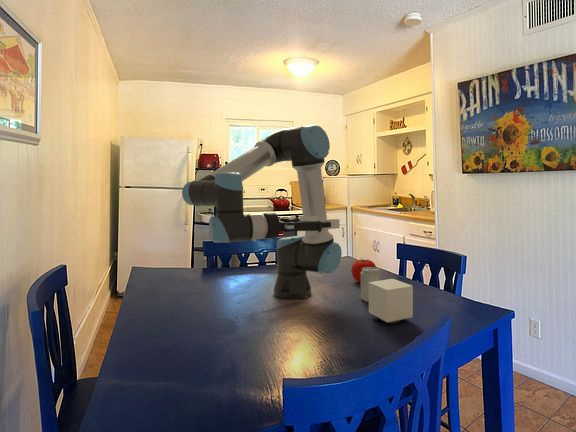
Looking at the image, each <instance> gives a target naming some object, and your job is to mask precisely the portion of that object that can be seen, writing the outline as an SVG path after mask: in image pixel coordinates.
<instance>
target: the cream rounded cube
mask: <svg viewBox="0 0 576 432" xmlns="http://www.w3.org/2000/svg"><path fill="white" fill-rule="evenodd" d="M413 288H414V287H413V285H412V284H409V283H406V282H403V281H400V280H397V279H394V278H389V279H388V278H387V279H383V280H382V279H381V281H375V282H369V302H368V313H369V314H371V315H373V316H375V317H377V318H378V319H380V320H381V319H382V320H384V321H386V322H385V323H387V322H392V321H397V320H400V321H401V320H406V319H411V318H413V315H414V314H413V313H414V311H413V310H414V309H413V308H414V303H413V302H414V301H413V299H414V298H413V297H414V296H413V295H414V294H413V293H414V289H413ZM382 320H381V321H382Z"/></svg>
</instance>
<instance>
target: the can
mask: <svg viewBox="0 0 576 432" xmlns="http://www.w3.org/2000/svg"><path fill="white" fill-rule="evenodd" d="M381 280H382V272H381V271H380V268H378V267H376V268H375V267H365V268H363V269H362V272H361V283H360V298H361V299H362V300H363V302H365V303H369V282H375V281H381Z"/></svg>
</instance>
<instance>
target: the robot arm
mask: <svg viewBox="0 0 576 432" xmlns="http://www.w3.org/2000/svg"><path fill="white" fill-rule="evenodd" d="M330 144H331V143H330V140H329V137H328V134H327V133H326V131H325V130H324V129H323V127H321V126H320V125H319V124H305V125H301V126H300V125H299V126H295V127H293V126H292V127H288V128H287V127H286V128H282V129H279V130H277V131H275V132H273V133H271V134H269V135H268V136H266V137H264V138H262V139H261V140H259V141H257V142H256V143H255V145H254V146H253V148H251V149H250V150H248V151H246V152H244V153H243V154H241V155H240V156H238V157H236V158H234V159H232V160H231V161H230V162H228V163H225V165H223V166H221V167H219V168H217V169H216V170H215V171H212V172H211V173H209V174H208V175H206V176H203V177H202V178H200V179H198V180H192V181H188V182H186V183H185V184H184V185H183V187H182V190H181V195H182V199H183V201H184V202H185V203H186V204H188V205H189V206H195V207H215V209H216V210H215V211H216V214H215V215H214V216H211V217H209V221H208V232H209V237H210V241H212V242H213V243H216V244H218V243H219V244H220V243H223V244H224V243H228V244H229V243H236V242H246V241H252V242H254V243H256V242H257V240H264V239H265V240H268V239H269V240H270V239H271V240H272V239H277V238H278V237H279V236H280V232H283V233H289V232H305V233H304V234H305V235H293V236H287V237H281V238H279V239H277V241H276V249H275V250H276V265H277V266H276V267H277V269H276V271H277V276H276V280H275V283H274V286H273V295H274V296H275V297H276V296H277V297H276V298H279V297H280V299H284V298H285V299H284V300H298V299H303V298H306V297H309V296H311V294H312V287H311V284H310V280H309V278H308V274H307V272H312V273H319V274H324V275H325V274H327V275H330V274H332V273H334V272H335V271H337V269H338V267H339V266H340V263H341V259H342V255H343V254H342V246H340V244H339V243H337V242H334V240H335V239H334V235H333V233H331V232H329V230H332V229H334V230H335V229H340V228H341V227H340V218H333V219H332V218H330V219H328V216H327V208H326V201H325V200H326V198H325V190H324V182H323V176H322V175H323V172H322V167H323V165H324V164H325V162H326V161H325V158H327V156H328V155H329V154H330V148H331V147H330ZM283 162H291V167H292V168H293V169H294V170H296V172H297V173H296V174H297V180H298V188H299V196H300V202H301V211H302V216H299V214H295V215H294V216H291V217H290V216H289V217H288V216H287V217H279V215H278V214H277V213H276V212H266V213H260V212H259V213H248V214H244V186H243V182H244V181H245V180H247V179H248V178H250V177H251V176H253V175H255V174H256V173H258V172H259V171H261V170H262V169H264V167H271V166H273V165H275V164H277V163H283Z"/></svg>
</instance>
